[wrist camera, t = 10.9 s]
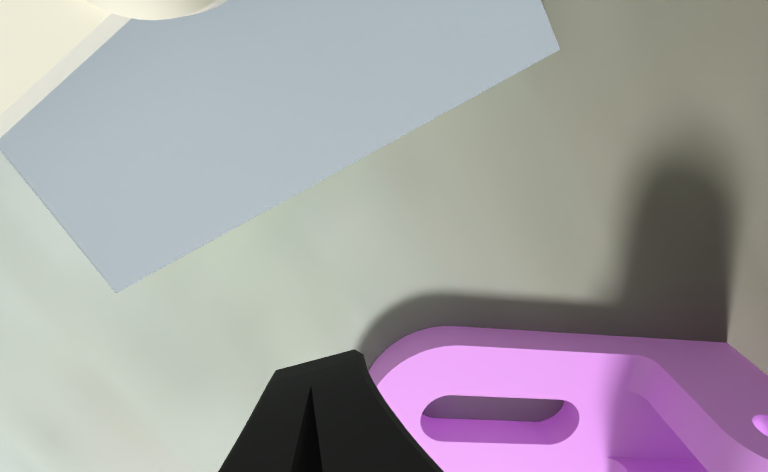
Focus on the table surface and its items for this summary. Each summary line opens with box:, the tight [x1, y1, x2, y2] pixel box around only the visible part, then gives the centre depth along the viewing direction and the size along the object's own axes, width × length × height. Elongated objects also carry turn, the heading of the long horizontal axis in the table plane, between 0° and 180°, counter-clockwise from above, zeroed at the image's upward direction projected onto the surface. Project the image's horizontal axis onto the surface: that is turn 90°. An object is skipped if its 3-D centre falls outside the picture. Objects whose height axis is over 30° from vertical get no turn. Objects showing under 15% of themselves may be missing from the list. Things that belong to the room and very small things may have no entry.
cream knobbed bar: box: [0, 0, 229, 138], centre depth 12 cm, size 10×4×3 cm, turn 128°
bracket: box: [369, 326, 768, 472], centre depth 19 cm, size 13×6×7 cm, turn 82°
